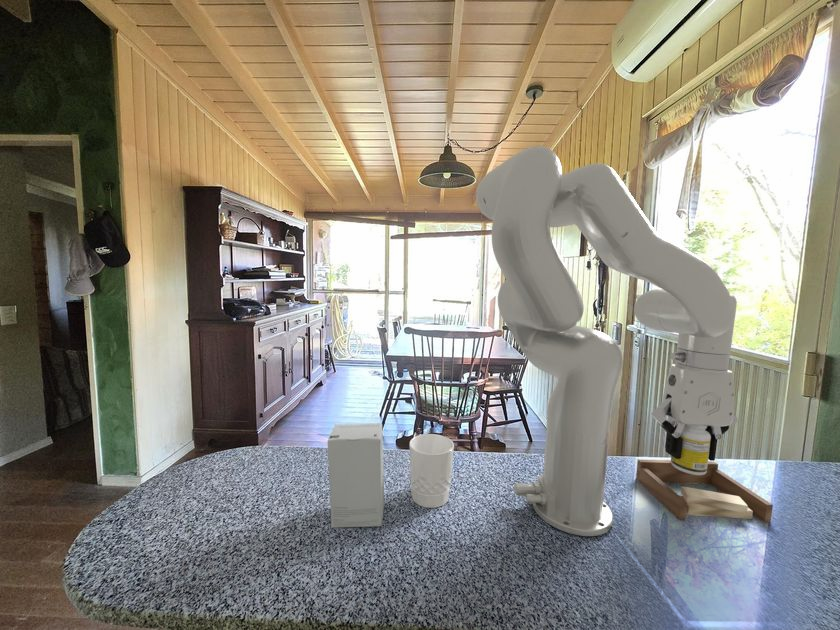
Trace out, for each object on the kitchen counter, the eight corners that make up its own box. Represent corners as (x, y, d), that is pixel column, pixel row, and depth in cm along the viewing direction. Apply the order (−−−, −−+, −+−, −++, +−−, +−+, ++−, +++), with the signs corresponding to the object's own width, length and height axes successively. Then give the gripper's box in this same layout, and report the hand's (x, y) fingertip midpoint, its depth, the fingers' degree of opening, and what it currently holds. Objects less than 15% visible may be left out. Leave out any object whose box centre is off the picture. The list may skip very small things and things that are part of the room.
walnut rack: (678, 522, 59) (681, 496, 58) (635, 480, 71) (637, 459, 70) (770, 524, 59) (773, 499, 58) (711, 483, 71) (714, 461, 70)
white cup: (449, 514, 59) (451, 457, 58) (403, 507, 61) (404, 451, 60) (454, 487, 67) (456, 436, 66) (413, 481, 69) (414, 431, 68)
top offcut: (686, 501, 61) (687, 494, 61) (680, 492, 64) (681, 486, 64) (746, 513, 59) (747, 505, 59) (738, 503, 61) (739, 496, 61)
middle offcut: (688, 513, 60) (688, 506, 60) (677, 502, 63) (677, 495, 63) (752, 518, 59) (752, 511, 59) (737, 507, 62) (738, 500, 62)
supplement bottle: (673, 458, 70) (679, 409, 69) (708, 469, 66) (715, 418, 65) (667, 467, 66) (673, 416, 65) (703, 479, 62) (711, 425, 61)
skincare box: (384, 505, 61) (385, 422, 60) (381, 529, 55) (383, 438, 54) (335, 505, 61) (335, 421, 59) (327, 529, 55) (327, 437, 53)
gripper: (667, 362, 60) (656, 464, 62) (769, 367, 60) (754, 469, 62) (641, 353, 68) (631, 444, 70) (731, 358, 68) (718, 449, 70)
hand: (689, 455), depth 66 cm, fingers closed on supplement bottle, 5 cm apart
